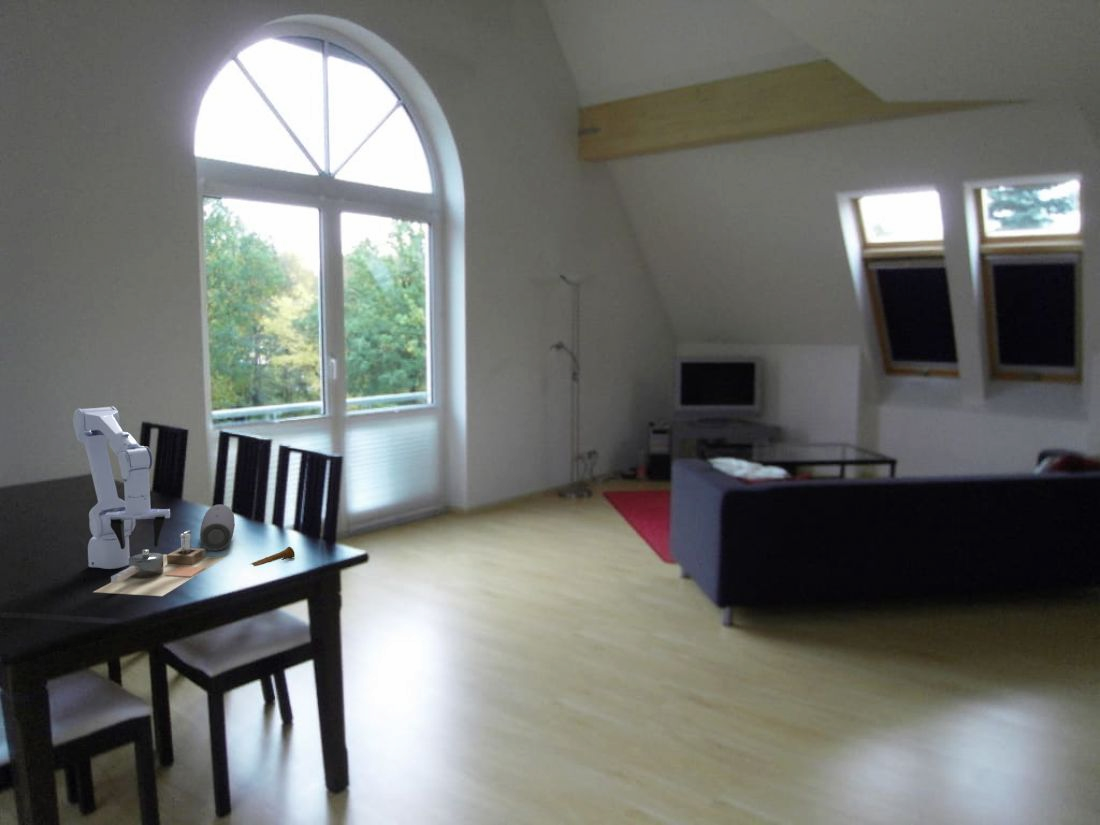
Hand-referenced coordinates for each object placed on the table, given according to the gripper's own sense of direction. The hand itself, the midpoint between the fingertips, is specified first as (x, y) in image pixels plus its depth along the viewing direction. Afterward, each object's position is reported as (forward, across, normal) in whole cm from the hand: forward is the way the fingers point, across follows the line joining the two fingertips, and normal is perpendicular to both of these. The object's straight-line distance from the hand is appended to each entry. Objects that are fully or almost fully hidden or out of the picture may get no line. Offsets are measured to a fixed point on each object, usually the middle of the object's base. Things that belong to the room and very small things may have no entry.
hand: (139, 546), depth 203 cm
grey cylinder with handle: (+8, -1, -1) cm, 8 cm away
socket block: (+9, +10, +12) cm, 18 cm away
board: (+10, +5, +2) cm, 11 cm away
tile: (+8, +10, +2) cm, 13 cm away
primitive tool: (+10, +30, +5) cm, 32 cm away
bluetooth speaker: (+10, +17, +30) cm, 36 cm away
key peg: (+9, +10, +12) cm, 18 cm away
